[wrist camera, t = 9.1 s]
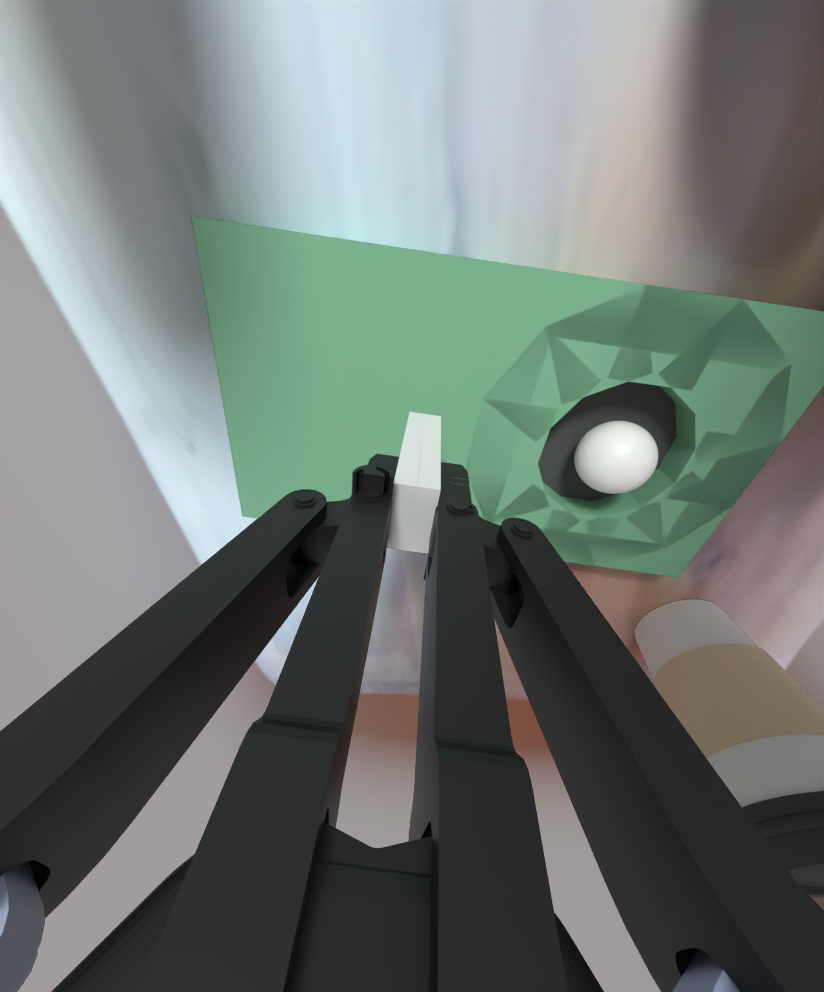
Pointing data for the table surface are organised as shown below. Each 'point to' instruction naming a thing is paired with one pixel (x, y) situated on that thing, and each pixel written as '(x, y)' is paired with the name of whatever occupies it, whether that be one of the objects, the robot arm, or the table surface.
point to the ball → (616, 457)
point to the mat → (499, 383)
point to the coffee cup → (745, 725)
